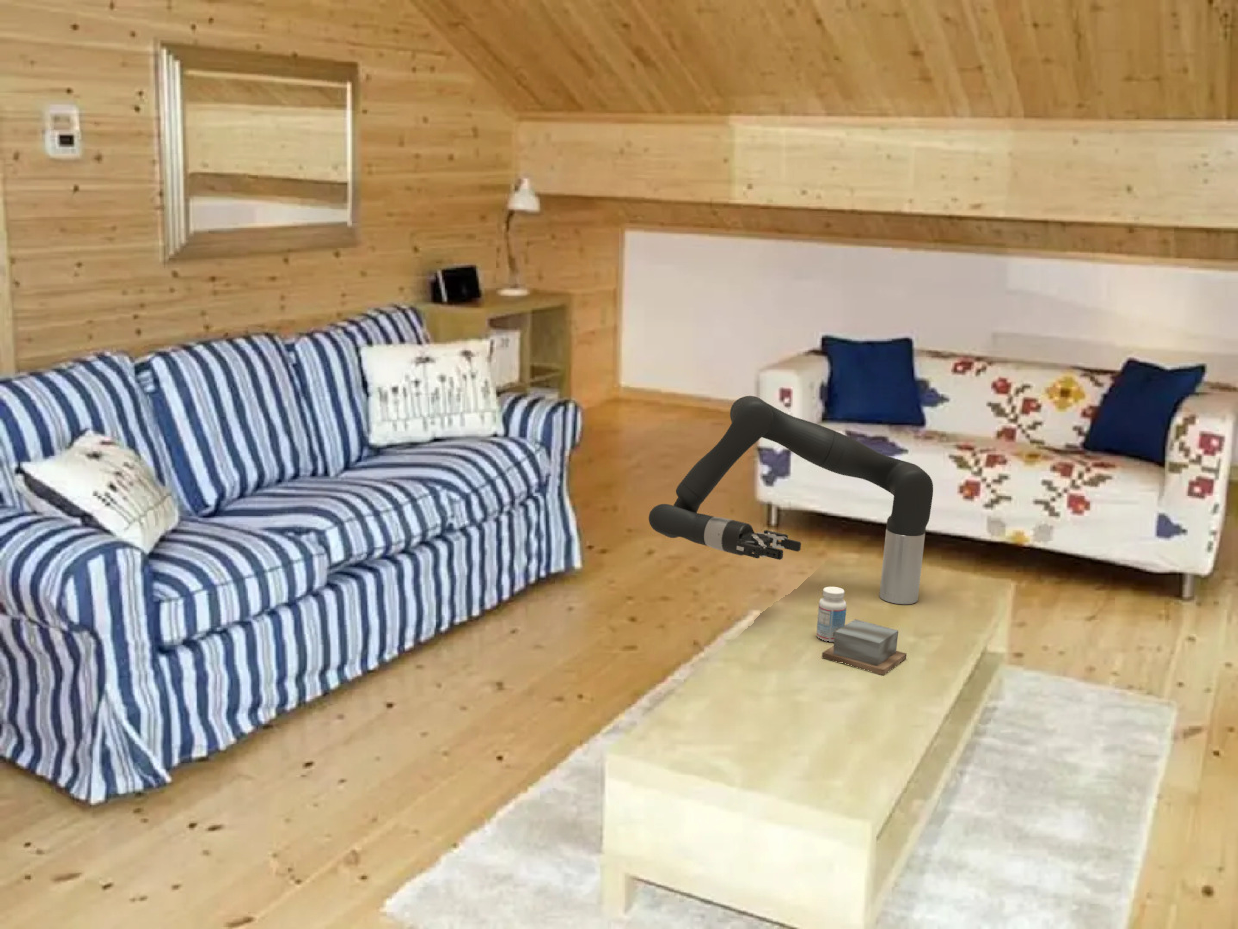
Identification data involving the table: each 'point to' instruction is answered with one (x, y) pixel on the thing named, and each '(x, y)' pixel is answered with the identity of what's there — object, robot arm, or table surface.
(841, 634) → the tower base
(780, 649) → the table surface
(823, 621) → the pill bottle
